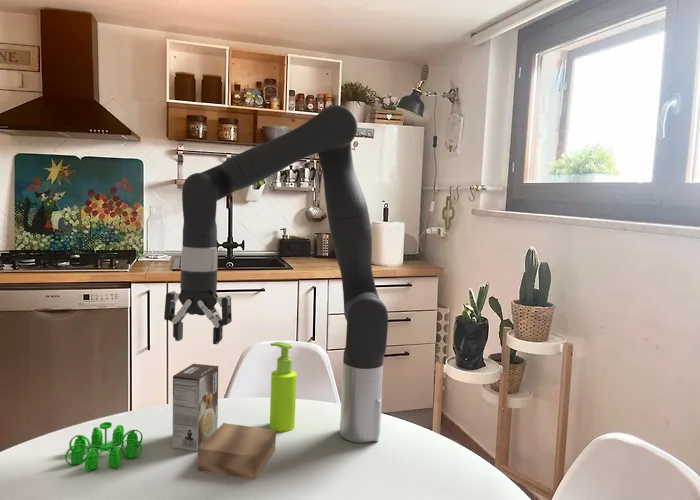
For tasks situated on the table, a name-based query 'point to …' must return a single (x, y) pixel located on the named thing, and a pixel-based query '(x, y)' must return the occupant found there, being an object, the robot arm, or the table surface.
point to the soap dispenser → (283, 392)
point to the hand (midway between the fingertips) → (197, 341)
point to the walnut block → (237, 451)
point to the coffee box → (194, 406)
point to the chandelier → (104, 447)
